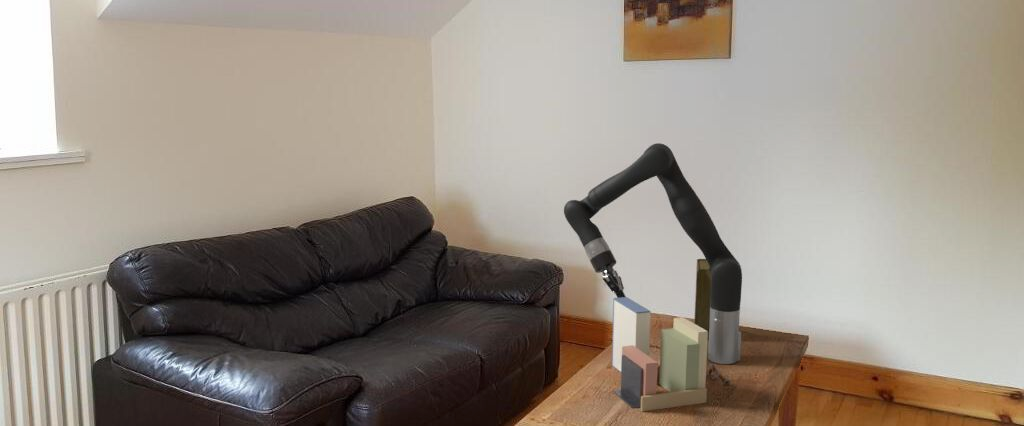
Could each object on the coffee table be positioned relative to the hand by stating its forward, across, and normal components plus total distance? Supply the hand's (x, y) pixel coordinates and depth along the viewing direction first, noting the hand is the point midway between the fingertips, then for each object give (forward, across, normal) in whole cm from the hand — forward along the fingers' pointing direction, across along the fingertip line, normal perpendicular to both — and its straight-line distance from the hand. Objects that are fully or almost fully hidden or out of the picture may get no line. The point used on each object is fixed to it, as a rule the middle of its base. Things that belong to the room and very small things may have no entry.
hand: (624, 302), depth 270 cm
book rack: (+31, -17, -1) cm, 36 cm away
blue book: (+20, -4, +8) cm, 22 cm away
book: (+16, +43, -10) cm, 47 cm away
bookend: (+28, -23, +7) cm, 37 cm away
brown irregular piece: (+34, 0, -14) cm, 37 cm away
